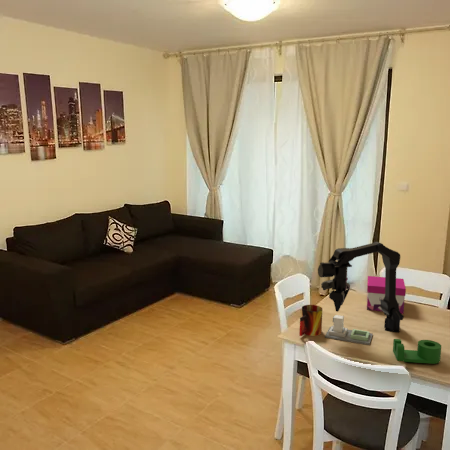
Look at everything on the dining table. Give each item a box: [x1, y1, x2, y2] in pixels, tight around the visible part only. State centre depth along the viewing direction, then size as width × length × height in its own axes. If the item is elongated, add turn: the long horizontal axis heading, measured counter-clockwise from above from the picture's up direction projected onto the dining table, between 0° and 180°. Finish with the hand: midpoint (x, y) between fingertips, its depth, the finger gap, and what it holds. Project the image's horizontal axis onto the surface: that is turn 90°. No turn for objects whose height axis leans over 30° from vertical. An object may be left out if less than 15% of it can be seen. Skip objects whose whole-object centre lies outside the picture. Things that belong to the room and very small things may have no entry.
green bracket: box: [392, 338, 442, 365], centre depth 191 cm, size 18×9×6 cm, turn 81°
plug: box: [332, 314, 345, 333], centre depth 214 cm, size 5×4×8 cm
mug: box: [298, 304, 323, 337], centre depth 215 cm, size 10×14×12 cm
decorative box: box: [366, 275, 407, 315], centre depth 249 cm, size 19×19×15 cm
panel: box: [324, 325, 374, 346], centre depth 213 cm, size 20×12×2 cm, turn 66°
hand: (339, 308), depth 213 cm, fingers open, 9 cm apart
